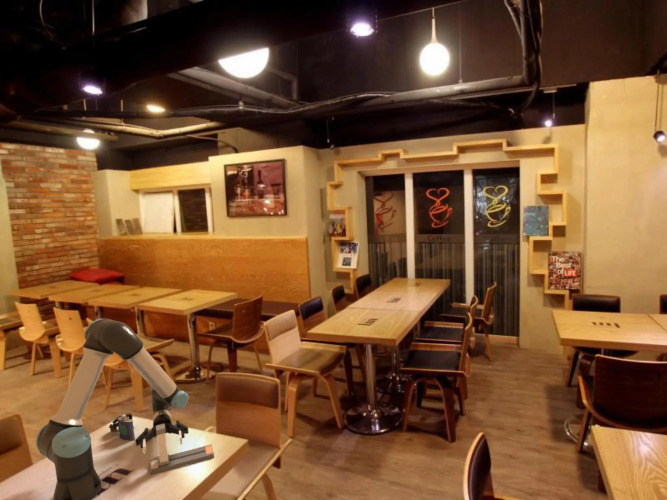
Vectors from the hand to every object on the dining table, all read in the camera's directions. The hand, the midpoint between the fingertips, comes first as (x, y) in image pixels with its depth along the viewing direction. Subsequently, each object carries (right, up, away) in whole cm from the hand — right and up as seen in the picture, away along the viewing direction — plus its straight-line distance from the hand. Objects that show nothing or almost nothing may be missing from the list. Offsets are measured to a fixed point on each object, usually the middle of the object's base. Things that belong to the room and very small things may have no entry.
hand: (162, 445), depth 166 cm
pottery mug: (-32, -8, +34) cm, 47 cm away
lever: (-1, -7, +3) cm, 8 cm away
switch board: (+6, -9, +5) cm, 12 cm away
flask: (-27, -9, +26) cm, 39 cm away
